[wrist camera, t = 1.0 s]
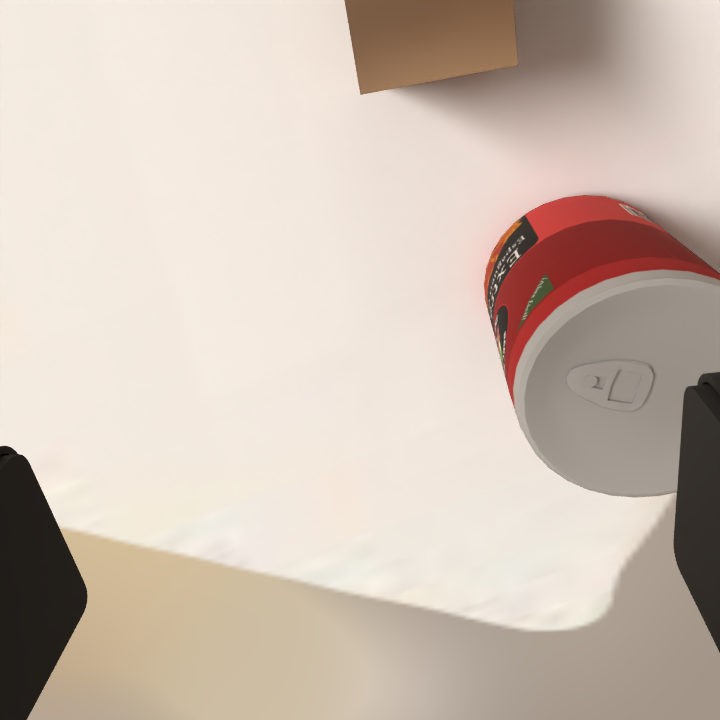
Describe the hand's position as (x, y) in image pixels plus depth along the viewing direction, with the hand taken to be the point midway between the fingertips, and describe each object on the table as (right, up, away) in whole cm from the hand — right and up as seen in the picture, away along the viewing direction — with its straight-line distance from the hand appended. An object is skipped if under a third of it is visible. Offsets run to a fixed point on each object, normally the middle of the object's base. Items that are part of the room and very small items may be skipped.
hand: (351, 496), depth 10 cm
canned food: (+10, +6, +21) cm, 23 cm away
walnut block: (+3, +16, +16) cm, 23 cm away
